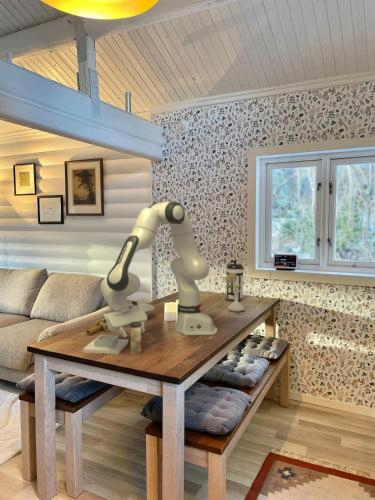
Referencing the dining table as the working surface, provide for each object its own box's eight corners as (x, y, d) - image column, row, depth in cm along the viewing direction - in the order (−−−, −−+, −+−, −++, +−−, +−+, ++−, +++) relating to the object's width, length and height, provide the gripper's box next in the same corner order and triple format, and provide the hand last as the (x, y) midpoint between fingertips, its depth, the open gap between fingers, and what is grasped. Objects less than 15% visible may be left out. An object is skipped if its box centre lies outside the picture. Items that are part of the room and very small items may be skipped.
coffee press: (219, 299, 283) (220, 259, 281) (237, 297, 290) (238, 258, 287) (231, 303, 267) (232, 261, 265) (250, 301, 274) (251, 261, 272)
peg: (142, 351, 167) (142, 321, 166) (139, 355, 162) (139, 324, 161) (131, 350, 167) (131, 321, 166) (129, 354, 163) (129, 324, 162)
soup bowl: (138, 325, 208) (138, 314, 207) (105, 319, 219) (105, 308, 219) (162, 316, 229) (162, 306, 228) (130, 311, 240) (130, 301, 240)
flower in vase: (244, 309, 251) (245, 272, 249) (245, 313, 240) (246, 274, 238) (224, 308, 252) (225, 271, 250) (224, 312, 241) (225, 274, 239)
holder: (128, 342, 178) (128, 333, 178) (118, 354, 163) (118, 344, 162) (96, 341, 180) (95, 331, 180) (82, 352, 164) (82, 342, 164)
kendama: (95, 339, 187) (119, 326, 202) (92, 327, 187) (116, 314, 202) (84, 339, 191) (108, 326, 207) (81, 327, 191) (106, 315, 206)
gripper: (104, 308, 161) (119, 335, 155) (141, 301, 176) (155, 325, 170) (98, 316, 164) (112, 343, 158) (134, 308, 179) (148, 333, 174)
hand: (134, 334), depth 164 cm, fingers open, 8 cm apart
